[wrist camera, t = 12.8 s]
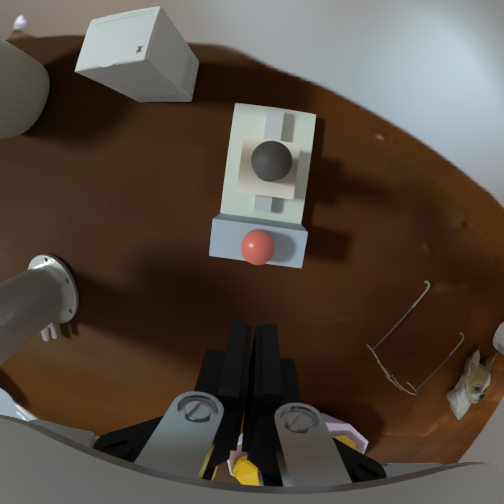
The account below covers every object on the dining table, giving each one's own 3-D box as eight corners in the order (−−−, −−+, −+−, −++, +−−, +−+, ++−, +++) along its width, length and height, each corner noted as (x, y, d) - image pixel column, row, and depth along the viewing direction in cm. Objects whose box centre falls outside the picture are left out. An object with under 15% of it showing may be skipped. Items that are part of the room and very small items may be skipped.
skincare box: (200, 62, 31) (167, 2, 16) (192, 105, 33) (148, 61, 18) (144, 64, 31) (90, 16, 16) (135, 105, 33) (71, 72, 18)
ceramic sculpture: (449, 424, 35) (495, 358, 32) (430, 399, 44) (470, 339, 41) (473, 424, 36) (514, 366, 33) (455, 403, 44) (491, 348, 42)
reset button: (271, 261, 30) (271, 266, 28) (240, 257, 30) (239, 262, 28) (275, 231, 29) (276, 235, 27) (244, 227, 29) (243, 230, 27)
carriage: (288, 197, 34) (306, 206, 20) (239, 190, 34) (225, 195, 20) (295, 149, 32) (317, 128, 19) (246, 142, 32) (236, 116, 19)
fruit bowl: (246, 386, 43) (242, 437, 32) (383, 404, 44) (402, 446, 33) (214, 465, 49) (208, 504, 38) (323, 477, 50) (329, 512, 39)
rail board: (294, 252, 37) (301, 268, 30) (218, 242, 37) (209, 255, 30) (313, 117, 33) (325, 103, 26) (236, 106, 33) (230, 89, 26)
